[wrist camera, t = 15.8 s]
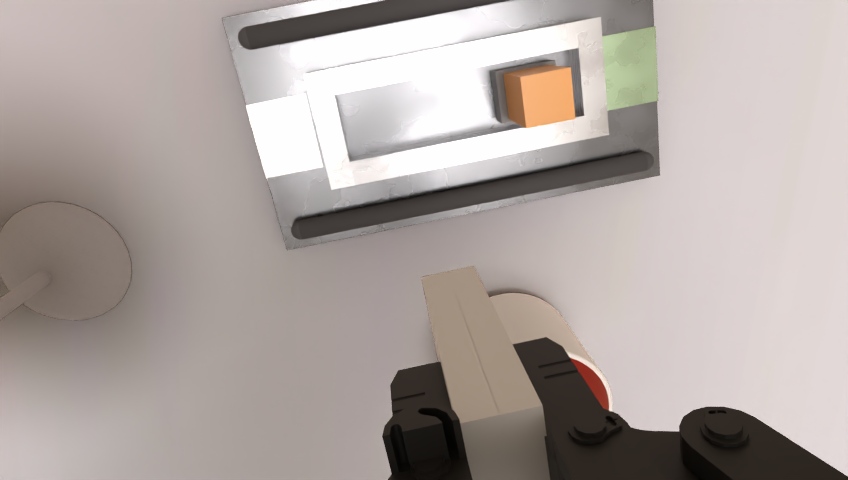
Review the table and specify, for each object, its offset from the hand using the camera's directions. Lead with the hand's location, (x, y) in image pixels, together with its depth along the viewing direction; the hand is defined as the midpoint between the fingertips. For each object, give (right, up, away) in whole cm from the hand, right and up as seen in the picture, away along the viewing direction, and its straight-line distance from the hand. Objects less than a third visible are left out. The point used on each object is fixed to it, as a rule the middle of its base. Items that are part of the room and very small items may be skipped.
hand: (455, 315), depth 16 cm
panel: (+1, +12, +24) cm, 27 cm away
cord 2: (0, +18, +21) cm, 27 cm away
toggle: (+6, +12, +23) cm, 27 cm away
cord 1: (+3, +6, +25) cm, 26 cm away
